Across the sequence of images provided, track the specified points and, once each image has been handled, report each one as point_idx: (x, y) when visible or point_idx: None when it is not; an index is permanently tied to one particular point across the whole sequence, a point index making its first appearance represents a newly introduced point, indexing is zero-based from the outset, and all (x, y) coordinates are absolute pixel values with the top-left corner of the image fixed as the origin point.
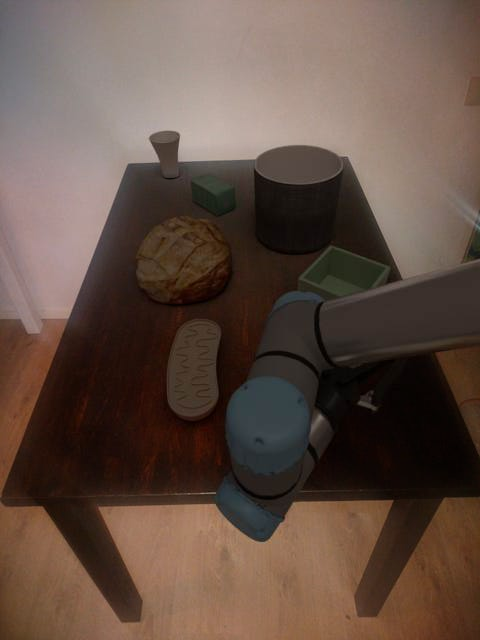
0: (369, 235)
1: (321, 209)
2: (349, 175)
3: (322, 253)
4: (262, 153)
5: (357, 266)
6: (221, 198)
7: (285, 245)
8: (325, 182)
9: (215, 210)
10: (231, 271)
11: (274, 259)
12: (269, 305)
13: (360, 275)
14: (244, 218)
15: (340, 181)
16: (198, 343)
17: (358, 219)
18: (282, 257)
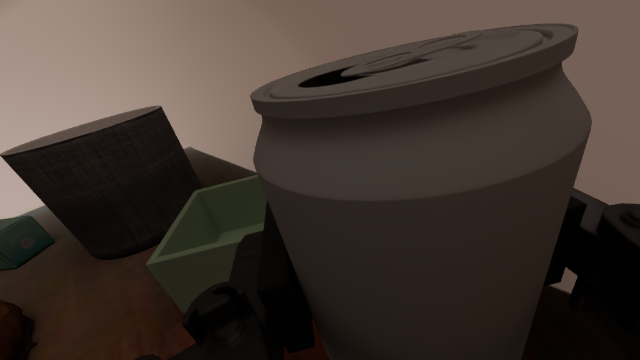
0: (247, 175)
1: (158, 161)
2: (201, 152)
3: (185, 205)
4: (28, 142)
5: (249, 194)
6: (5, 239)
7: (137, 237)
8: (136, 120)
9: (5, 262)
10: (30, 344)
11: (129, 266)
12: (129, 356)
13: (261, 204)
14: (71, 245)
15: (167, 123)
16: None
17: (228, 171)
18: (143, 255)
